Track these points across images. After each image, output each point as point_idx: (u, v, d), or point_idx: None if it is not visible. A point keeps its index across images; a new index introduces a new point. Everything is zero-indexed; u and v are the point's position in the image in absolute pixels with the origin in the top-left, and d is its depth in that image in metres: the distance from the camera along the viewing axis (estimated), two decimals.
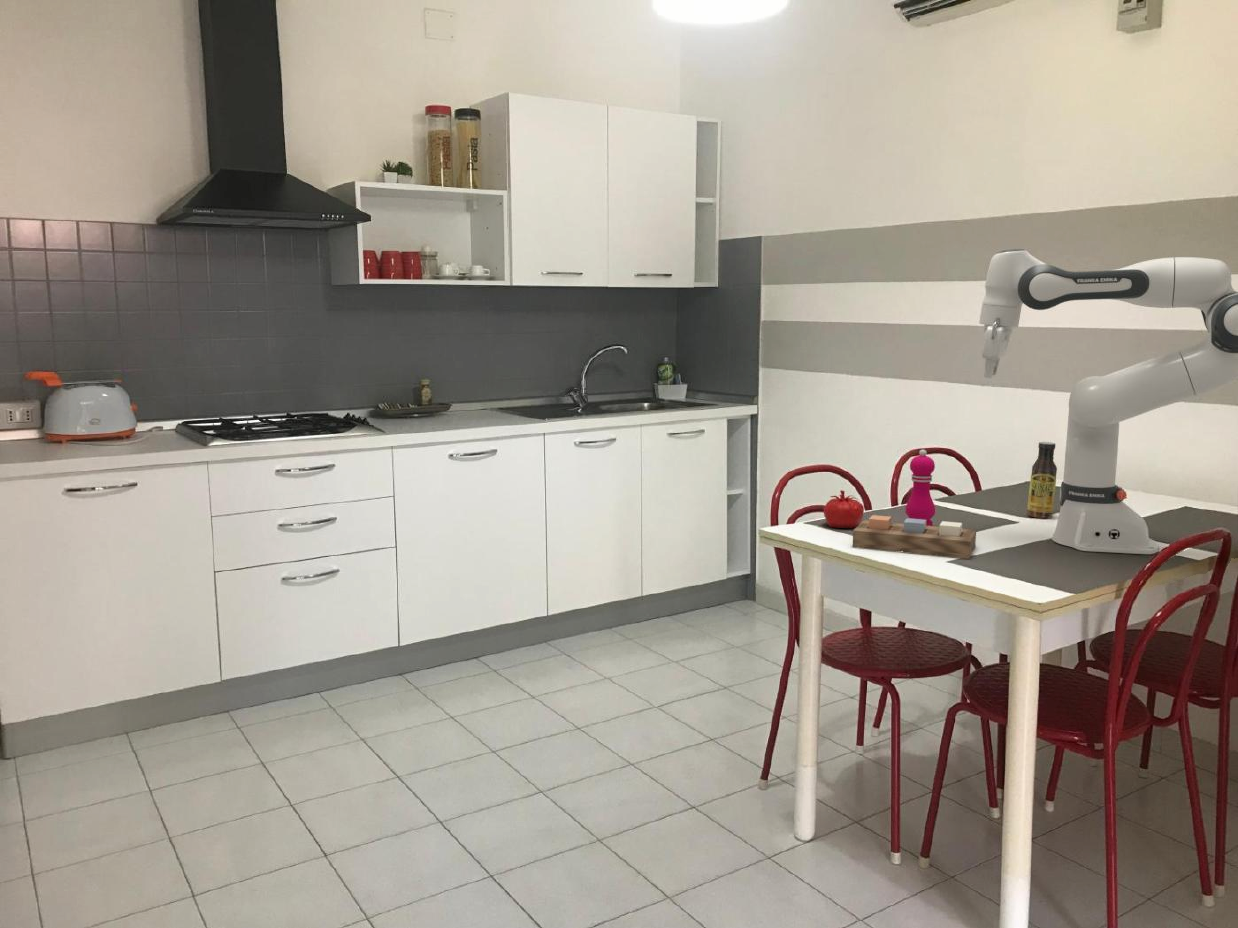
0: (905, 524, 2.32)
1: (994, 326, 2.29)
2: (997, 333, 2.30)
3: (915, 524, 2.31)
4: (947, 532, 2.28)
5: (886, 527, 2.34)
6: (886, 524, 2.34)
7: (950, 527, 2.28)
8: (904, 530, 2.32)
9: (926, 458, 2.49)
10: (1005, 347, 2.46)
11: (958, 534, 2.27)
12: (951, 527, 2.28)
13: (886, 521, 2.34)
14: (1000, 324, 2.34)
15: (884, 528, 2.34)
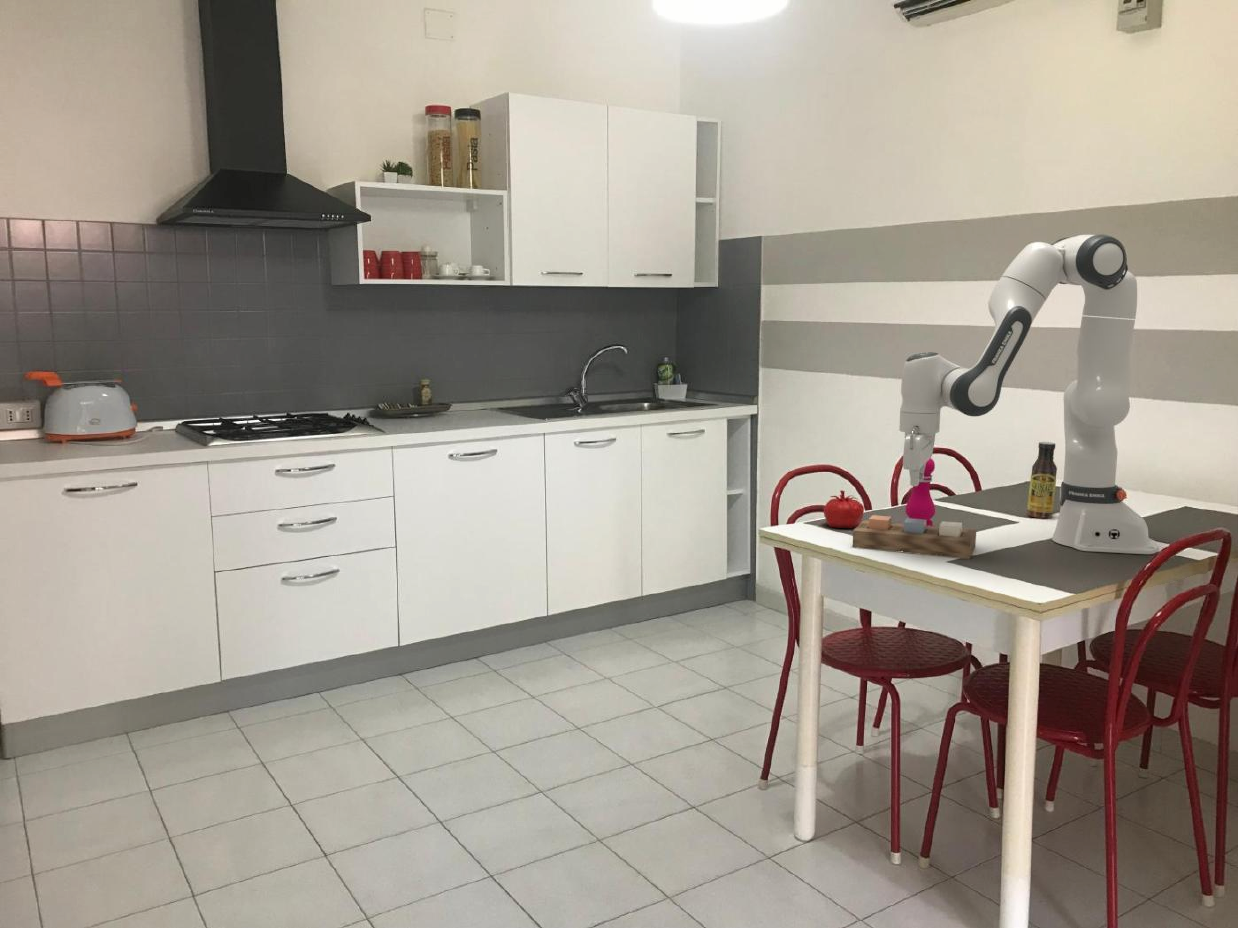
0: (905, 524, 2.32)
1: (911, 436, 2.20)
2: (915, 443, 2.21)
3: (915, 524, 2.31)
4: (947, 532, 2.28)
5: (886, 527, 2.34)
6: (886, 524, 2.34)
7: (950, 527, 2.28)
8: (904, 530, 2.32)
9: None
10: (931, 450, 2.37)
11: (958, 534, 2.27)
12: (951, 527, 2.28)
13: (886, 521, 2.34)
14: (919, 431, 2.25)
15: (884, 528, 2.34)
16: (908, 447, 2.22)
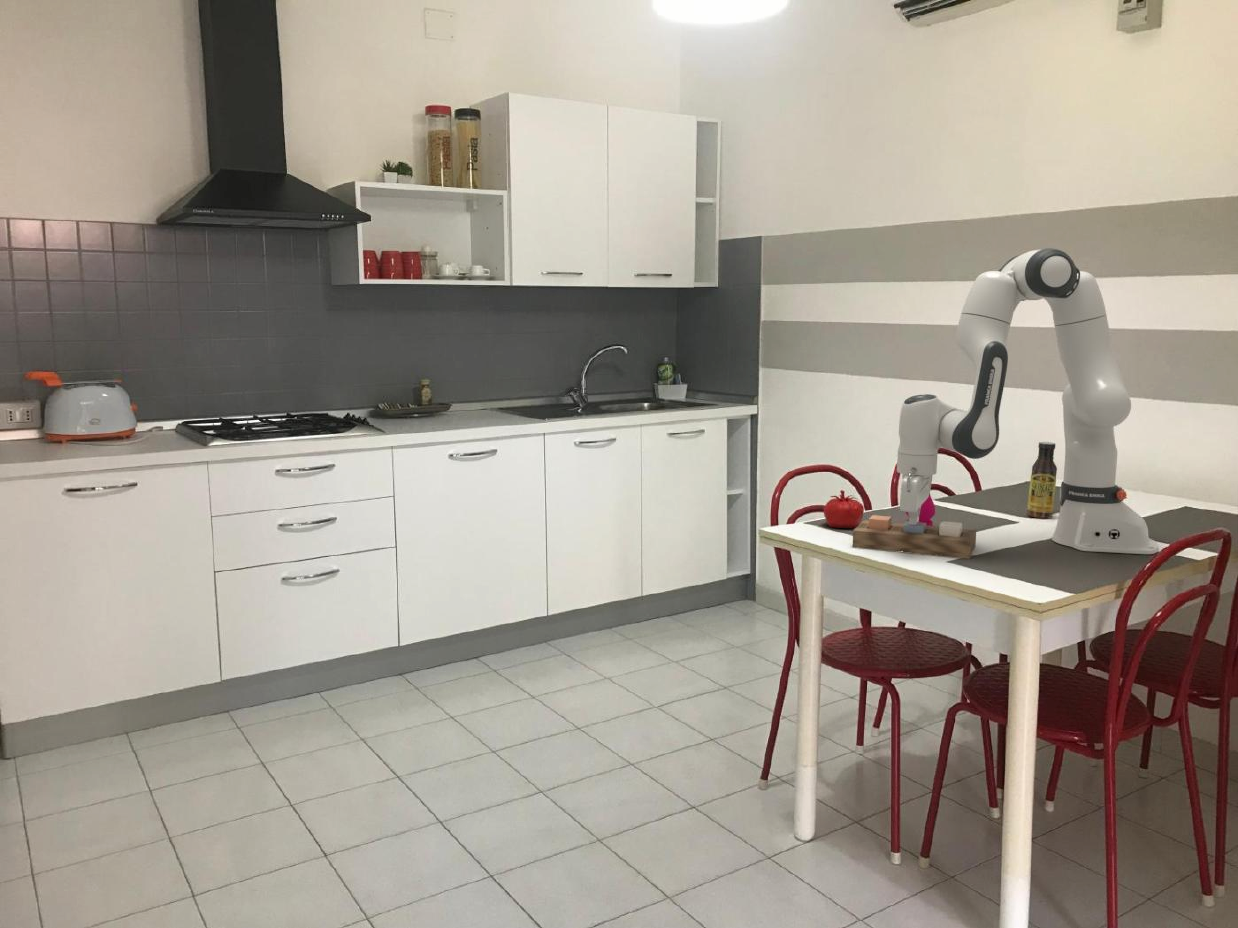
0: (905, 527, 2.32)
1: (908, 479, 2.22)
2: (912, 485, 2.23)
3: (915, 527, 2.31)
4: (947, 532, 2.28)
5: (886, 527, 2.34)
6: (886, 524, 2.34)
7: (950, 527, 2.28)
8: None
9: None
10: (928, 490, 2.38)
11: (958, 534, 2.27)
12: (951, 527, 2.28)
13: (886, 521, 2.34)
14: (916, 473, 2.27)
15: (884, 528, 2.34)
16: (905, 489, 2.23)
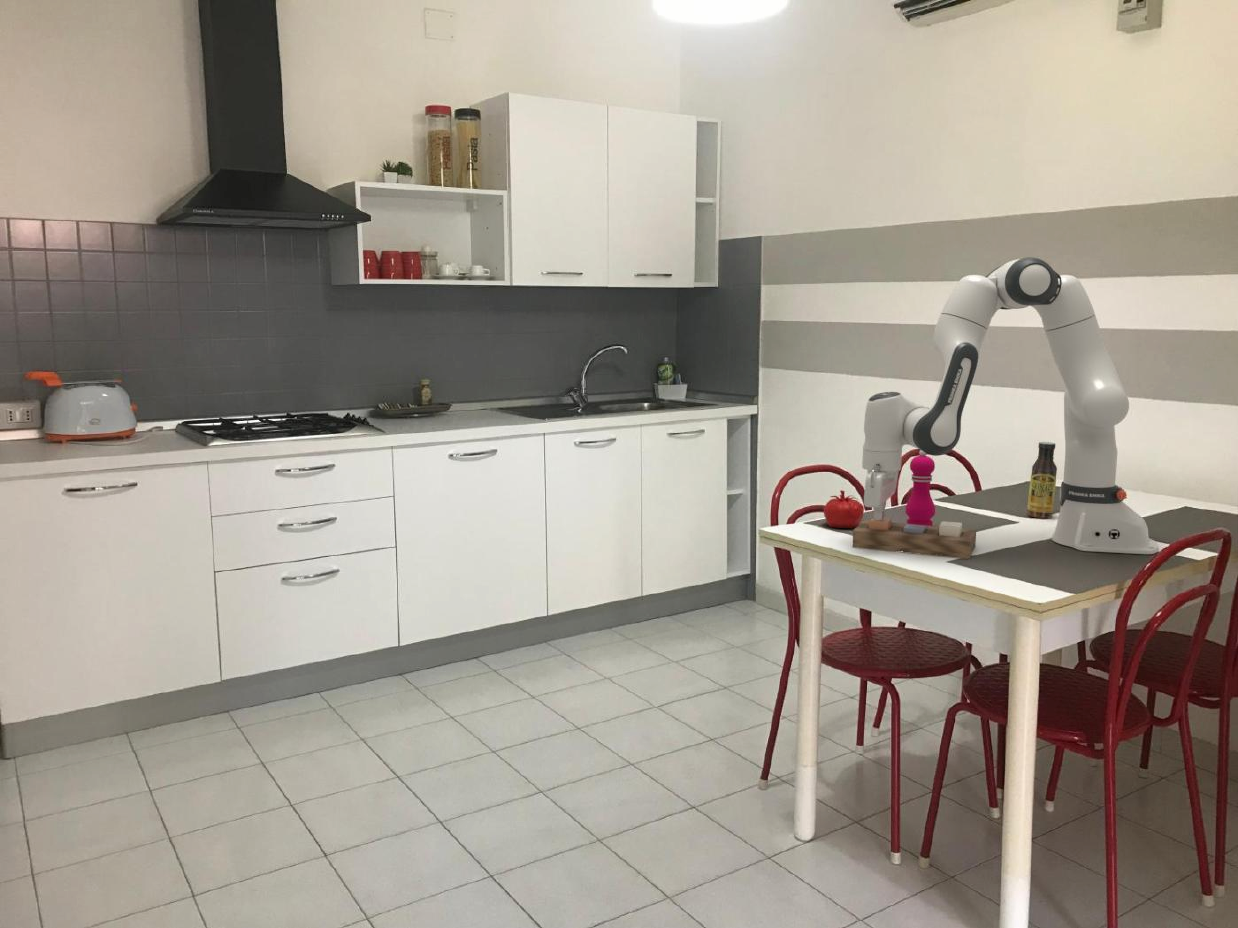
0: (905, 530, 2.32)
1: (872, 475, 2.26)
2: (876, 481, 2.26)
3: (915, 530, 2.31)
4: (947, 532, 2.28)
5: (886, 529, 2.34)
6: (886, 526, 2.34)
7: (950, 527, 2.28)
8: None
9: (926, 458, 2.49)
10: (894, 486, 2.42)
11: (958, 534, 2.27)
12: (951, 527, 2.28)
13: (886, 523, 2.34)
14: (881, 469, 2.30)
15: None
16: (869, 485, 2.27)
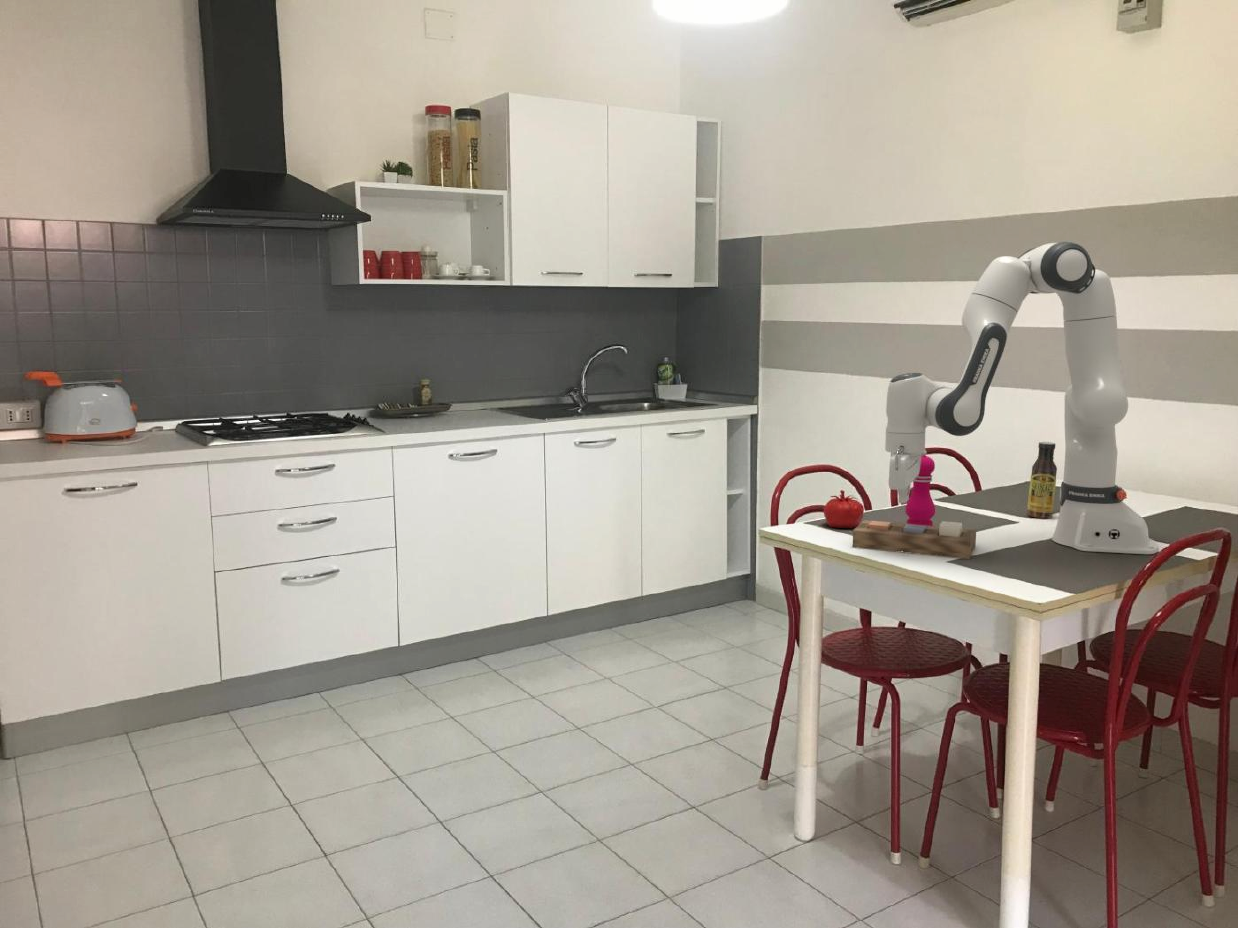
0: (905, 530, 2.32)
1: (896, 457, 2.23)
2: (901, 463, 2.23)
3: (915, 530, 2.31)
4: (947, 532, 2.28)
5: None
6: None
7: (950, 527, 2.28)
8: None
9: (926, 458, 2.49)
10: (917, 468, 2.39)
11: (958, 534, 2.27)
12: (951, 527, 2.28)
13: (886, 527, 2.34)
14: (905, 451, 2.28)
15: None
16: (893, 467, 2.24)
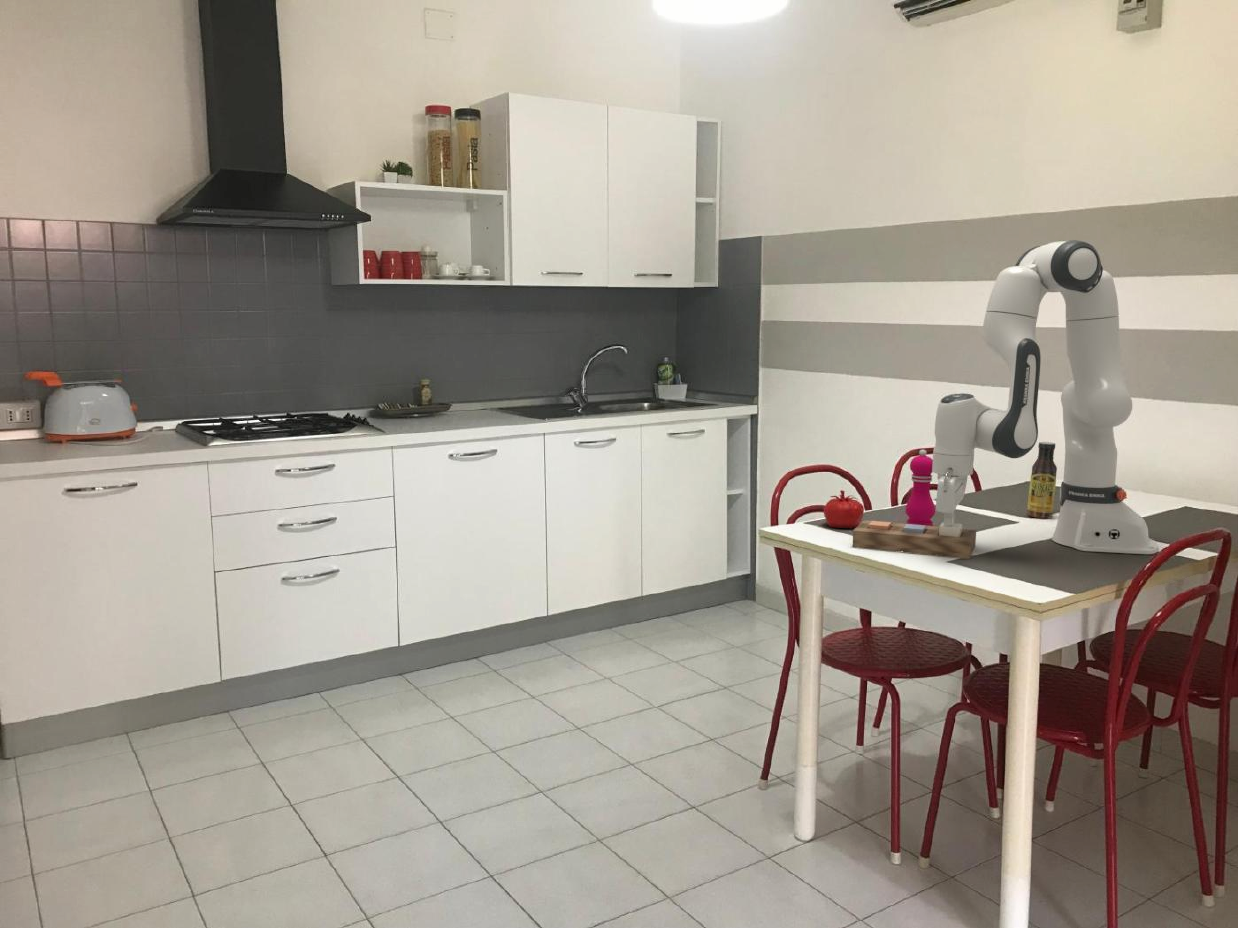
0: (905, 530, 2.32)
1: (945, 479, 2.19)
2: (949, 486, 2.19)
3: (915, 530, 2.31)
4: (947, 533, 2.28)
5: None
6: None
7: (950, 528, 2.28)
8: None
9: (926, 458, 2.49)
10: (963, 490, 2.35)
11: (958, 535, 2.27)
12: (951, 528, 2.28)
13: (886, 527, 2.34)
14: (953, 474, 2.24)
15: None
16: (942, 490, 2.20)
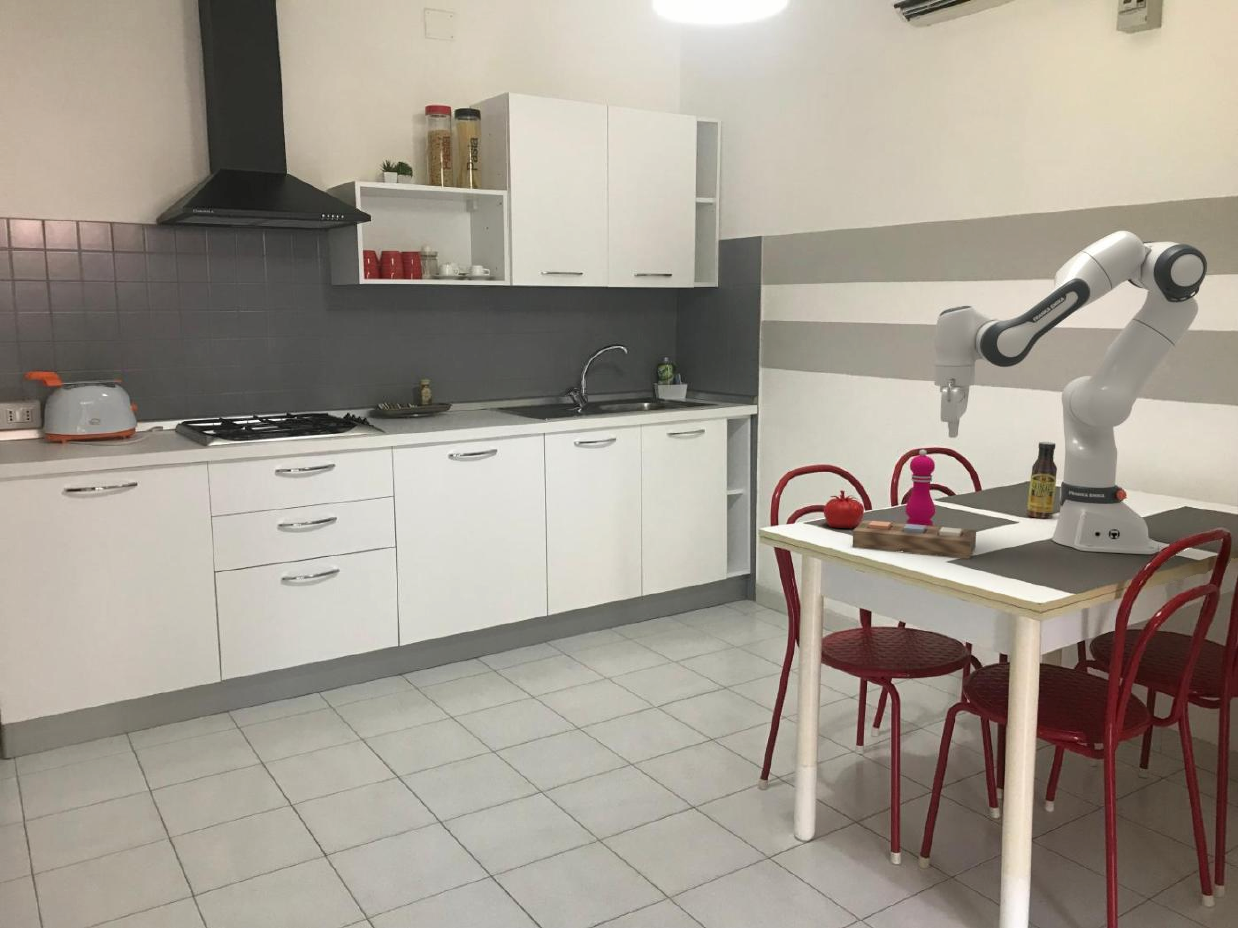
0: (905, 530, 2.32)
1: (949, 388, 2.22)
2: (953, 395, 2.23)
3: (915, 530, 2.31)
4: None
5: None
6: None
7: (950, 533, 2.28)
8: None
9: (926, 458, 2.49)
10: (965, 404, 2.38)
11: None
12: (951, 533, 2.28)
13: (886, 527, 2.34)
14: (955, 384, 2.27)
15: None
16: (945, 399, 2.23)
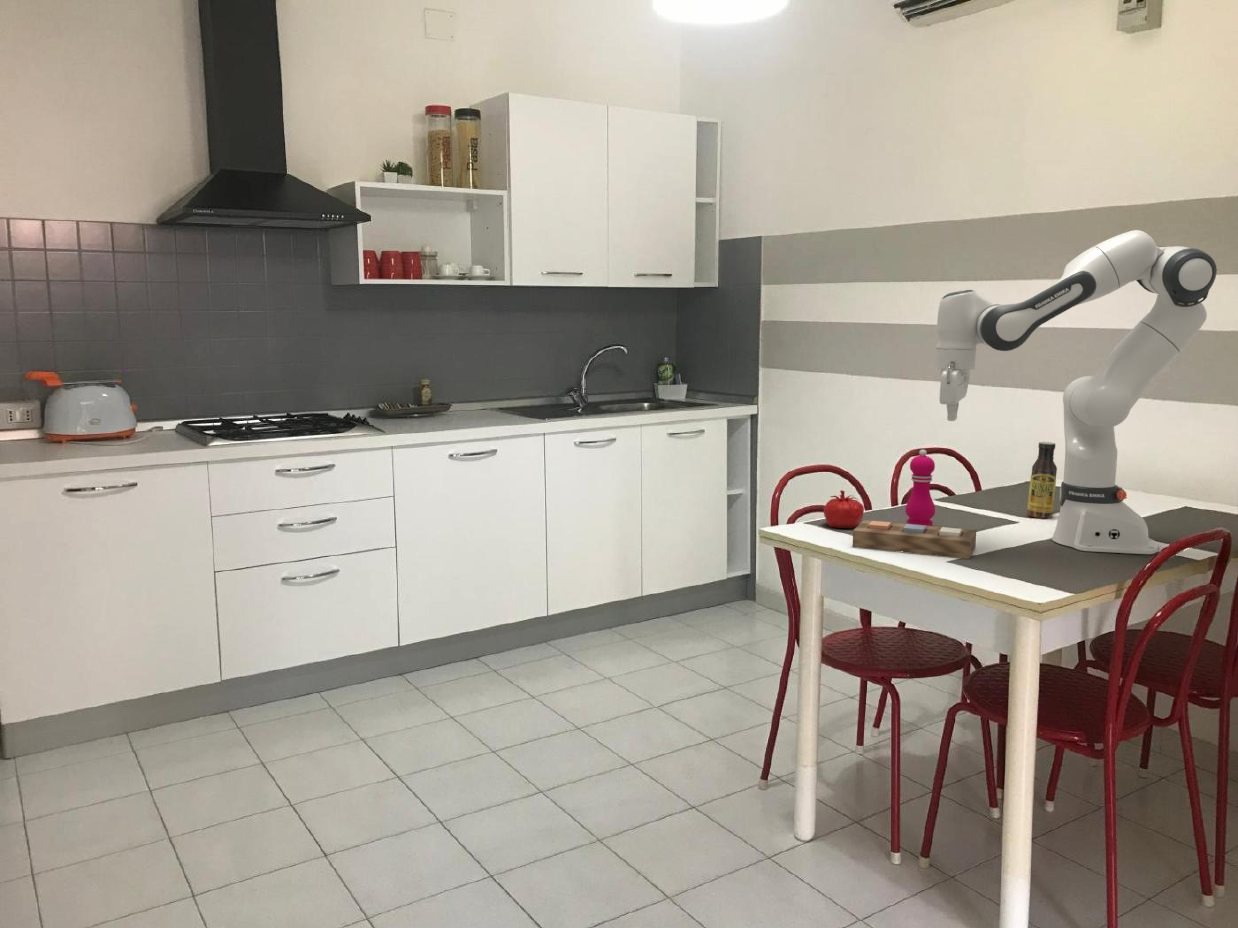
0: (905, 530, 2.32)
1: (948, 371, 2.24)
2: (952, 377, 2.24)
3: (915, 530, 2.31)
4: None
5: None
6: None
7: (950, 533, 2.28)
8: None
9: (926, 458, 2.49)
10: (965, 389, 2.40)
11: None
12: (951, 533, 2.28)
13: (886, 527, 2.34)
14: (955, 367, 2.29)
15: None
16: (945, 382, 2.25)
